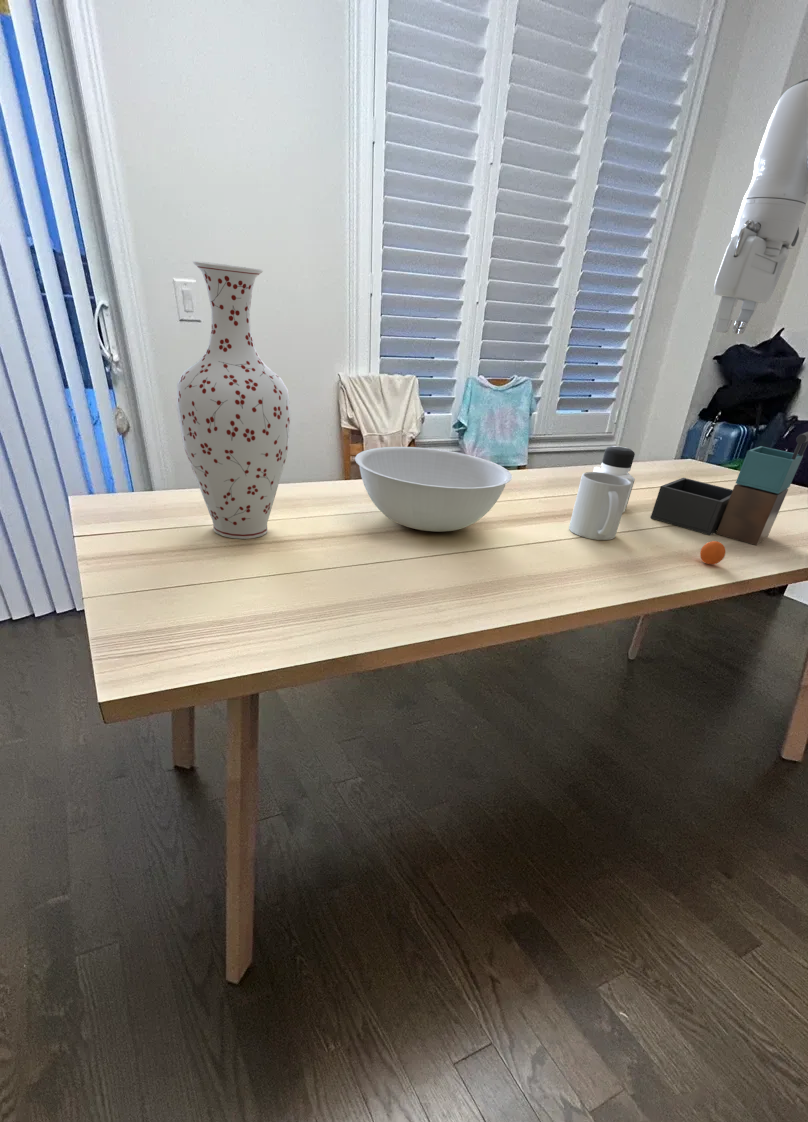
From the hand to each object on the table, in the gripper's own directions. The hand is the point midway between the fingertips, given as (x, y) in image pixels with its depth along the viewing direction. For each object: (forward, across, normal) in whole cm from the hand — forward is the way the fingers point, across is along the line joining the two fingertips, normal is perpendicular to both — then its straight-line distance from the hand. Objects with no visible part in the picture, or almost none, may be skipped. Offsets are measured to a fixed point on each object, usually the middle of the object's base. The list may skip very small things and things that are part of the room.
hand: (729, 333), depth 104 cm
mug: (+34, -12, +9) cm, 37 cm away
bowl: (+34, -35, +31) cm, 58 cm away
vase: (+34, -65, +46) cm, 87 cm away
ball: (+32, -8, -12) cm, 35 cm away
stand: (+34, +17, -11) cm, 40 cm away
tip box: (+24, +17, -11) cm, 31 cm away
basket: (+34, +17, 0) cm, 38 cm away
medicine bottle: (+34, +9, +16) cm, 39 cm away
